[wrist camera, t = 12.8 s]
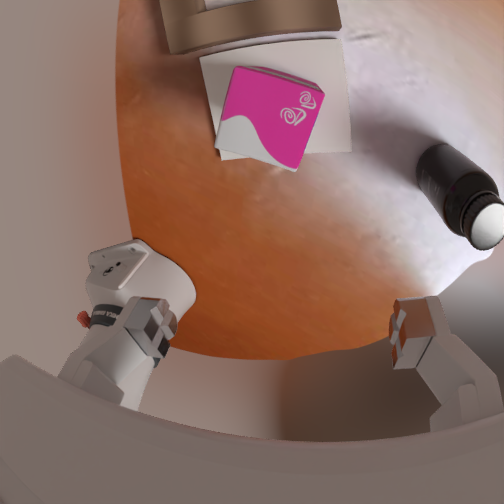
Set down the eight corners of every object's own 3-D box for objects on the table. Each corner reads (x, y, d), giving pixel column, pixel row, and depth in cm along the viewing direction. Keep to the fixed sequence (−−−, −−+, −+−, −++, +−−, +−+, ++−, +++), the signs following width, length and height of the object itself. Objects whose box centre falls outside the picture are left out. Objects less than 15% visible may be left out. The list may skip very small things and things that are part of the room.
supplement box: (301, 134, 26) (295, 176, 17) (245, 116, 26) (207, 148, 17) (320, 83, 22) (327, 93, 13) (261, 64, 22) (228, 64, 13)
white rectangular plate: (223, 158, 30) (221, 160, 29) (202, 57, 23) (199, 57, 22) (350, 149, 26) (351, 152, 26) (340, 39, 19) (340, 39, 18)
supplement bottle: (447, 204, 27) (489, 270, 18) (405, 183, 27) (442, 247, 18) (471, 158, 22) (528, 211, 13) (429, 131, 22) (485, 175, 13)
